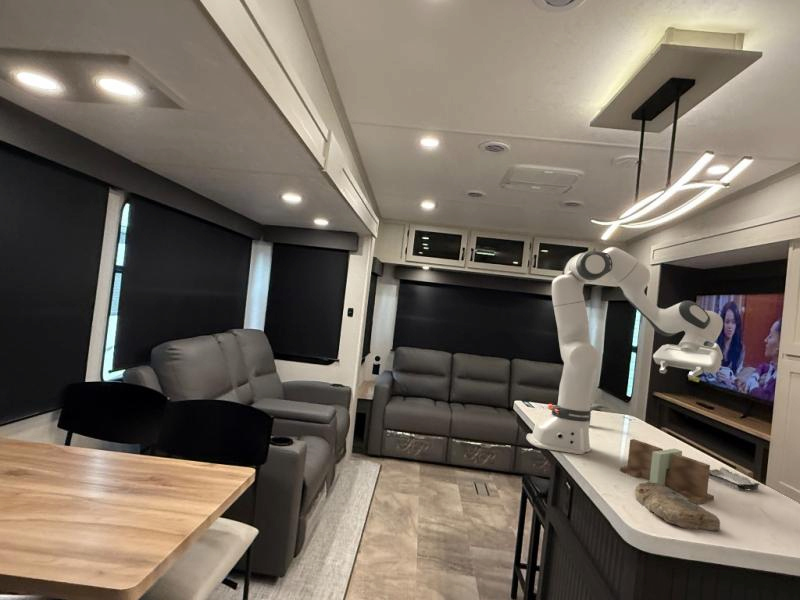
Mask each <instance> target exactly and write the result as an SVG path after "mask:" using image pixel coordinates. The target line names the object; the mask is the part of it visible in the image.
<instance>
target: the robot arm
mask: <svg viewBox="0 0 800 600" xmlns="http://www.w3.org/2000/svg"><path fill="white" fill-rule="evenodd" d="M603 277H606V278H608V279H610V280H611V281H612V282H614V283H615V284H616V285H617V286H618V287H620V289H621V290H622V293H623V294H622V295H623V296H624V298H625V299H626V300H627V302H629V304H630V305H631V306H633V307H634V308H635V309H636V310H637V311H638V312H639V313H640V314H641V316H643V317H644V318H645V319H646V320H647V321H648V322H649V323H650V325H651V327H652V328H653V329H654V331H655V332H656V333H658V334H659V335H661V336H664V337H673V336H674V335H677V334H678V333H680V332H684V333H685V334H684V335H683V337H682V339H681V340H680V342H679V343H678V344H671V343H667V344H663V345H661V347H659V348H658V349H657V350H656V351H655V352H654V353H653V355H652V358H653V361H654V362H655V364H657V365H660V368H659V371H658V372H659V373H660V374H663V375H664V374H666V373H667V372H668V370H667V367H673V368H678V369H682V370H683V369H684V370H691V371H689V373H688V374H687V377H688V379H690V380H695V379H696V377H698V376H699V375H700V376H701V375H702V374H703V373H706V374H711V375H713V374H716V373H718V371H720V370H719V369H720V368H721V365H722V360H723V359H724V356H723V355H724V354H723V352H722V349H721V347H720V346H719V344H718V343H716V341H717V339H718V337H719V336H720V335H721V332H722V330H723V327H724V321H723V318H722V317H721V315H720V314H718V313H717V312H715V311H713V310H706V309H704V308H703V307H702V306H700V305H699V304H698V303H696V302H694V301H692V300H683V301H682V302H681V301H680V302H679V303H676V304H673V305H672V306H670V307H667V308H660V307H658V306H657V305H656V304H655V303H654V302H653V301H652V300H651V299H650V298H649V297H648V296H647V295H646V293H645V290H646V288H647V287H648V285H649V283H650V280H651V274H650V269H648V268H647V266H646V265H645V264H644V263H642V262H641V261H640V260H638V259H637V258H636V257H634V256H633V255H632V254H629V253H628V252H627V251H624V250H622V249H621V248H618V247H616V246H609V247H607V248H605V249H604V250H602V251H597V250H587V251H585V252H580V253H578V254H576V255H574V256H573V257H571V258H569V259H568V260H567V261H566V263H565V264H564V268H563V271H562V274H560V275H557V276H556V277H555V278H554V279H552V282H551V298H552V299H551V300H552V301H551V302H552V305H553V310H554V311H553V312H554V316H555V322H556V327H557V337H558V343H559V350H560V357H561V360H562V361H563V369H562V373H561V379H560V382H559V390H558V399H557V404H555V405H554V404H552V403H548V404H547V409H548V410H550V411H551V413H550V414H549V415H548V416H546V417H544V418H542V419H540V420H538V421H537V422H536V423H535V425H534V427H533V431H532V433H527V434H526V436H525V437H526V438H525V439H526V440H527V441H528V442H529V443H530V444H531V445H532V446H535V447H536V448H539V449H546V450H552V451H558V452H564V453H569V454H576V455H584V454H585V453H588V452H591V444H590V434H589V433H590V430H589V426H590V424H591V415H592V411H590V405H591V403H592V391H593V387H594V386H593V385H594V382H595V378H596V375H597V368H598V364H599V359H600V358H599V353H598V350H597V348H595V346H593V344H591V340H590V328H589V327H590V326H589V324H590V321H589V317H588V312H587V306H586V301H585V297H584V294H583V292H584V285H585V283H591V282H594V281H595V280H598V279H600V278H603Z"/></svg>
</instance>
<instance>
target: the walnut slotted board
mask: <svg viewBox="0 0 800 600" xmlns="http://www.w3.org/2000/svg"><path fill="white" fill-rule="evenodd" d="M661 450H664V448H662V447H658V446H656V445H653V444H650V443H646V442H645V441H641V440H639V439H635V438H633V439H630V440H629V449H628V455H627V465H626V466H625V465H624V466H621V467H619V471H620V472H621V471H622V473H624V474H626V473H627V475H629V474H630V475H629V476H631V475H632V476H631V477H633V476H634V478H639V477H641V476H642V478H644V477H645V478H644V479H646V478H647V480H648V481H650V472H651V462H652V453H653V452H655V451H661ZM710 470H711V465H710V464H708V463H705V462H702V461H699V460H696V459H693V458H690V457H687V456H684V455H683V454H682V455H679V454H672V458H671V468H670V469H666V477H665V486H666V487H668V488H670V489H672V490H673V491H674V492H677V493H679V494H681V495H683V496H685V497H687V498H688V499H690V500H692V501H694V502H695V503H697V504H698V505H701V504H705V503H708V502H711V501H714V500H715V495H713V494H711V493H708V490H709V481H710V480H709V479H710V478H709V472H710ZM638 476H639V477H638Z"/></svg>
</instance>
